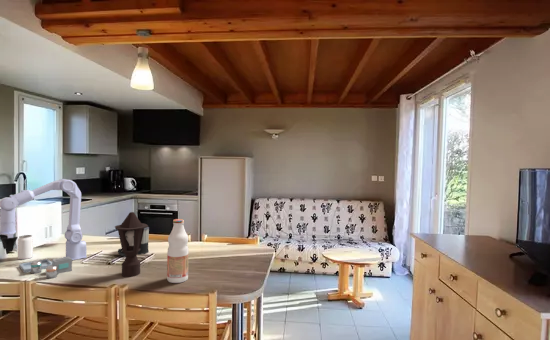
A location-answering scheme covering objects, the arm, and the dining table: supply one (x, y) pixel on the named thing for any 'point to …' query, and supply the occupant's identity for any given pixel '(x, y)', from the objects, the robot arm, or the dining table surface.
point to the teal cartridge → (35, 267)
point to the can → (25, 247)
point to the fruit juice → (177, 253)
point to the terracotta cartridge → (51, 271)
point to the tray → (27, 266)
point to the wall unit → (63, 264)
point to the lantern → (131, 243)
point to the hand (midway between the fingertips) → (8, 250)
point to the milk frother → (143, 244)
